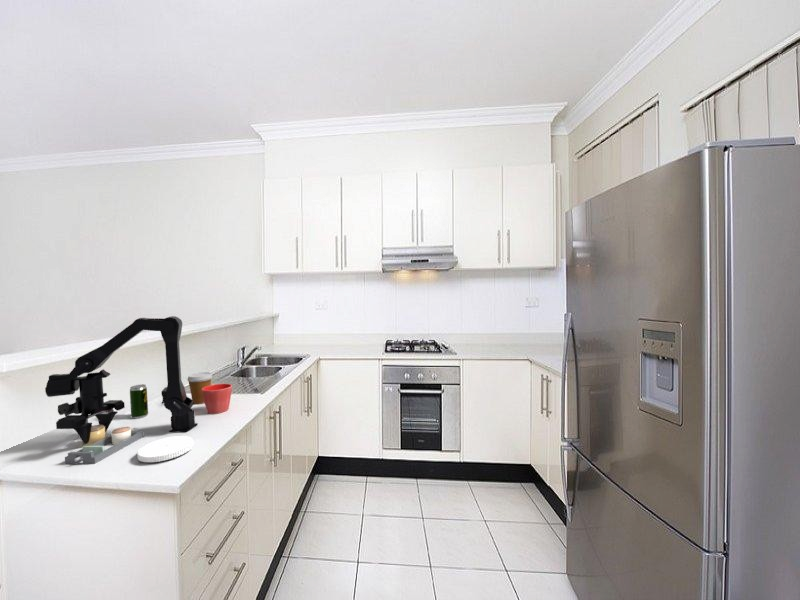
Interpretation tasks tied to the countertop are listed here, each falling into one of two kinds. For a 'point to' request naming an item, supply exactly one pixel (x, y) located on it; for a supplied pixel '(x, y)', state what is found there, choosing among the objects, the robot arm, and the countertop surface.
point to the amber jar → (96, 434)
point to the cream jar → (120, 434)
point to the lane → (91, 459)
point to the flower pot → (217, 397)
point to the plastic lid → (165, 449)
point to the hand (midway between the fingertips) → (94, 439)
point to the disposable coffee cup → (198, 385)
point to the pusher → (91, 450)
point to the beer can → (138, 401)
